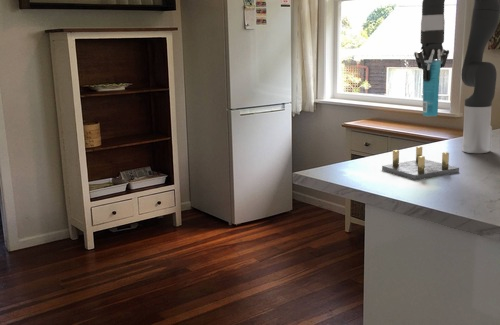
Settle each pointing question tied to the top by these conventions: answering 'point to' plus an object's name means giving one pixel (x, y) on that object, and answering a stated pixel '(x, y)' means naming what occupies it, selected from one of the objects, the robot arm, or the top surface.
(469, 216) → the top surface
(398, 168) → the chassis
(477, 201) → the top surface
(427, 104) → the tube
